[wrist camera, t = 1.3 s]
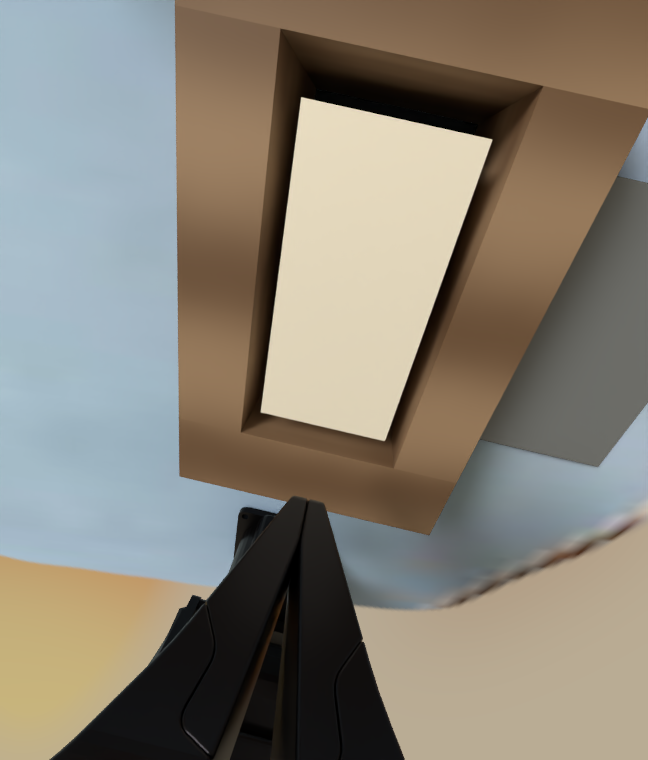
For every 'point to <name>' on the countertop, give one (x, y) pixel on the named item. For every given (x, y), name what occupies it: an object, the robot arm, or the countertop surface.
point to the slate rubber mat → (587, 344)
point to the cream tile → (362, 261)
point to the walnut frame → (470, 254)
